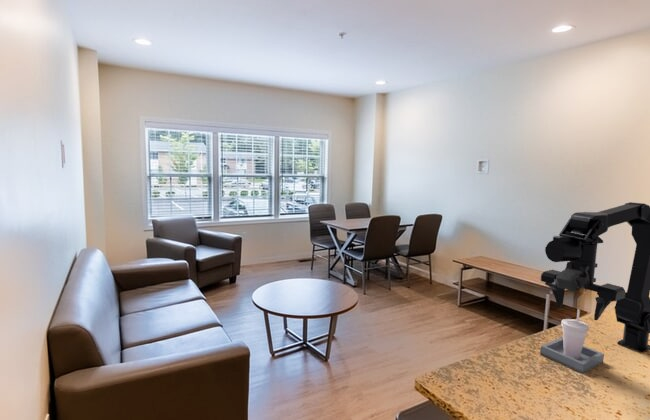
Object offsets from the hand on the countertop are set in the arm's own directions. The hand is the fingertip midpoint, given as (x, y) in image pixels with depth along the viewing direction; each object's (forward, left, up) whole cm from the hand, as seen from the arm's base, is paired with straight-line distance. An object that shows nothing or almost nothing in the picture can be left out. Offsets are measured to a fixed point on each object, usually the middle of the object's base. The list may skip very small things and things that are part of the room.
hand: (577, 313), depth 101 cm
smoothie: (+1, 0, -13) cm, 13 cm away
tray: (+1, 0, -13) cm, 13 cm away
